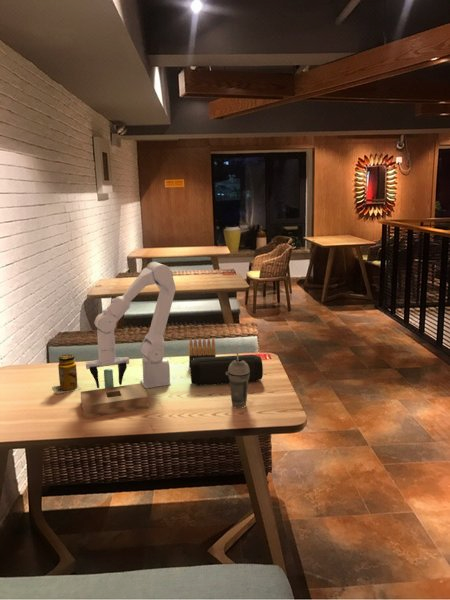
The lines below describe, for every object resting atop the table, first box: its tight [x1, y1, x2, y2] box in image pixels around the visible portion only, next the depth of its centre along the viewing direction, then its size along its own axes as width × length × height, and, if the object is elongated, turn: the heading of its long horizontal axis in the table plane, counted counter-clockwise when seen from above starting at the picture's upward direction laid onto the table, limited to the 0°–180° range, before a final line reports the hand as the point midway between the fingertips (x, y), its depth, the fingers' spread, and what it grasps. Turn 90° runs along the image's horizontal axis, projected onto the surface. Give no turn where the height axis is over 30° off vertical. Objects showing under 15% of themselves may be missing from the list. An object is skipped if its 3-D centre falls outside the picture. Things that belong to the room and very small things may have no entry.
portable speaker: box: [189, 354, 264, 386], centre depth 180 cm, size 26×10×10 cm, turn 98°
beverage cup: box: [228, 345, 250, 409], centre depth 159 cm, size 7×7×20 cm
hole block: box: [80, 382, 149, 419], centre depth 162 cm, size 20×12×4 cm, turn 110°
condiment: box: [51, 353, 82, 395], centre depth 176 cm, size 7×8×12 cm
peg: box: [103, 368, 115, 388], centre depth 172 cm, size 3×3×8 cm
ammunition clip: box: [188, 337, 217, 369], centre depth 196 cm, size 11×2×12 cm, turn 92°
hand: (109, 385), depth 173 cm, fingers open, 7 cm apart
